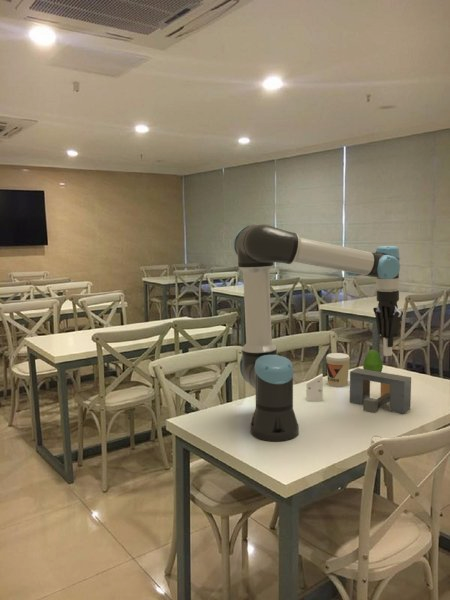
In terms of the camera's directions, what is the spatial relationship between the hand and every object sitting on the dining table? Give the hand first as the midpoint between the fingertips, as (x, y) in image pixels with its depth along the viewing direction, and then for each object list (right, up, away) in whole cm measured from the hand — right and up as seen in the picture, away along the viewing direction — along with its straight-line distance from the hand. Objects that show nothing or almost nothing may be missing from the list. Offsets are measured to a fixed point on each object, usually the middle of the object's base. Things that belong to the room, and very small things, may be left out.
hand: (387, 355), depth 180 cm
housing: (-3, -18, -1) cm, 18 cm away
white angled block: (-25, -18, +8) cm, 31 cm away
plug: (-1, -18, +2) cm, 18 cm away
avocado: (+5, -13, +34) cm, 37 cm away
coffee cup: (-12, -15, +25) cm, 32 cm away
